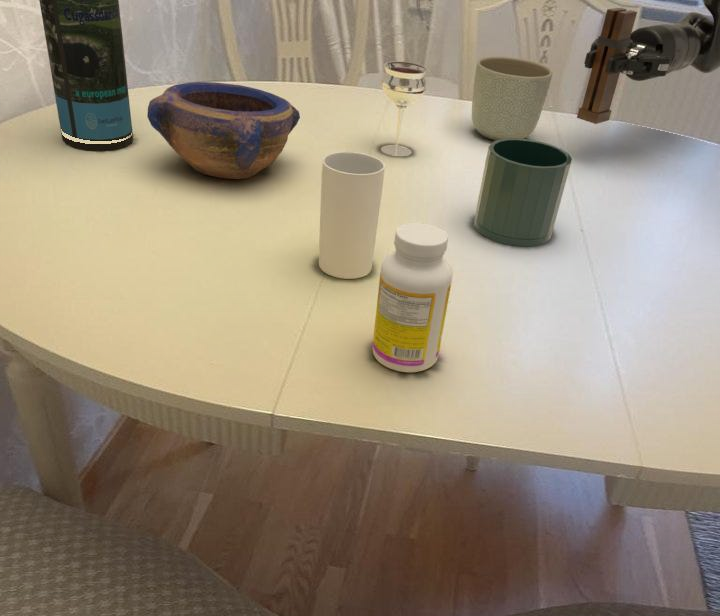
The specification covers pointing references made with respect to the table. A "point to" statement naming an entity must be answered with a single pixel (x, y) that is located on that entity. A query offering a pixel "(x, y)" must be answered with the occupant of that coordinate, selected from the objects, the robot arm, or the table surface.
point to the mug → (349, 213)
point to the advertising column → (88, 71)
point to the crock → (521, 191)
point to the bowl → (223, 126)
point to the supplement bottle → (412, 299)
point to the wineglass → (402, 94)
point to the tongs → (600, 83)
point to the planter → (508, 96)
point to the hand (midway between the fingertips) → (598, 63)
